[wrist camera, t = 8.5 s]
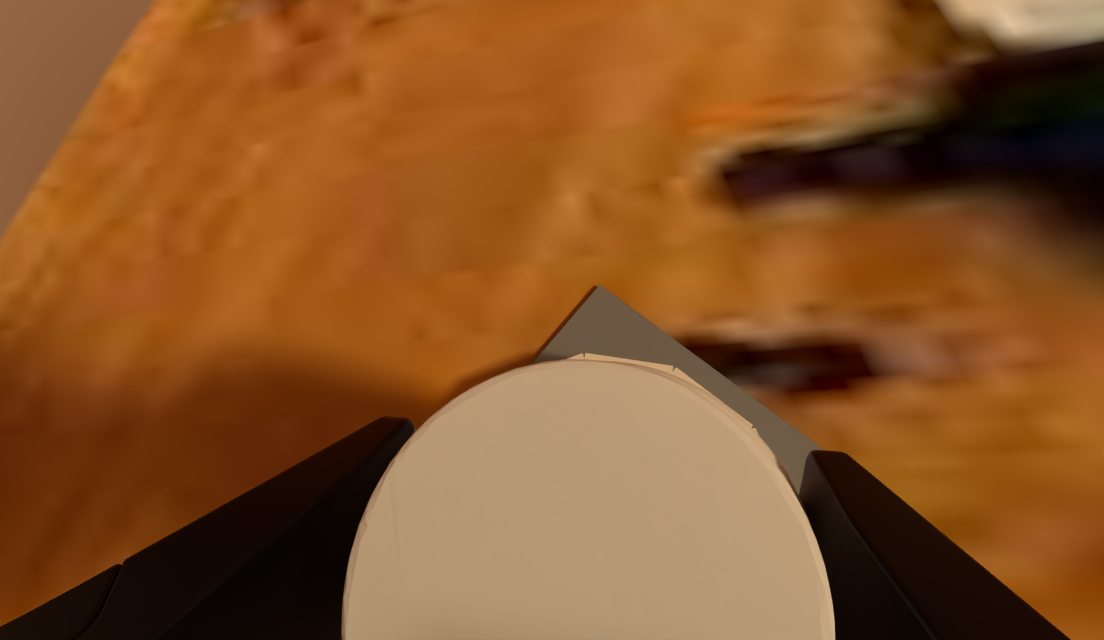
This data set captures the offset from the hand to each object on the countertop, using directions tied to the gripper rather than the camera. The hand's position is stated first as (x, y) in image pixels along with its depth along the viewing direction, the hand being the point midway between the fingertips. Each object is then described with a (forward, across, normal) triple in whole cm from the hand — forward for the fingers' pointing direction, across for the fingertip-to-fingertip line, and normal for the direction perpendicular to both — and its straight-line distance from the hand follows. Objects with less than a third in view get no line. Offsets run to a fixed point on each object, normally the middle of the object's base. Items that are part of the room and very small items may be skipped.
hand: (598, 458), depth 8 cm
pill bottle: (+4, 0, +6) cm, 7 cm away
